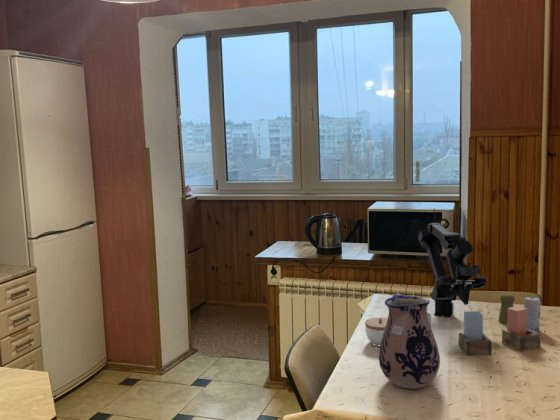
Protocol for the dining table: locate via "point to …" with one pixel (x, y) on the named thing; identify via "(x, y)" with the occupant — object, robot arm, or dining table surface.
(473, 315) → the blue-grey rectangular block
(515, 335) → the grey-brown wooden tray
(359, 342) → the dining table surface
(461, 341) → the grey brown open box
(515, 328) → the salmon pink block
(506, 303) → the olive green cylinder
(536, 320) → the energy drink
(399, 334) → the ceramic pitcher
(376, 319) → the lidded jar
